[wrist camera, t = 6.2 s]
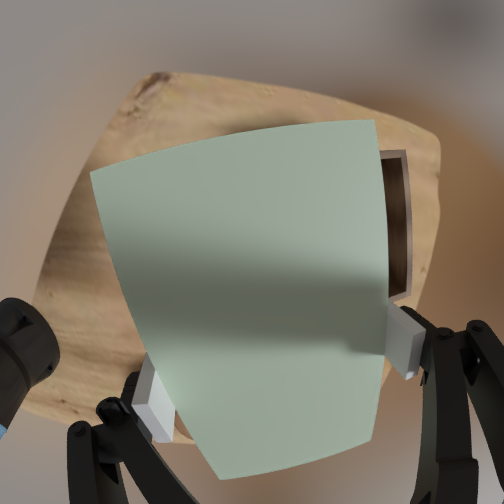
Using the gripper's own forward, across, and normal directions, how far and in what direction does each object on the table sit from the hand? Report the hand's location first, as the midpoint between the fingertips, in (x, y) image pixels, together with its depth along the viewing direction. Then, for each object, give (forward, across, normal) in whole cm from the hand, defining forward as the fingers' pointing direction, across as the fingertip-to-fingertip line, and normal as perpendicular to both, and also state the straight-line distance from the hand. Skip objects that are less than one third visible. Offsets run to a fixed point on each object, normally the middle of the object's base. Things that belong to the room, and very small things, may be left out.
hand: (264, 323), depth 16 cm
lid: (-2, 0, 0) cm, 2 cm away
